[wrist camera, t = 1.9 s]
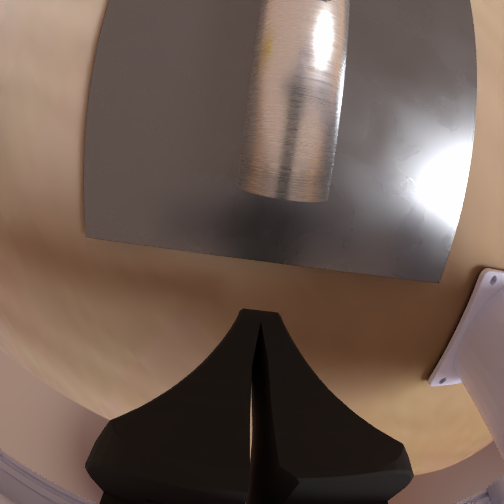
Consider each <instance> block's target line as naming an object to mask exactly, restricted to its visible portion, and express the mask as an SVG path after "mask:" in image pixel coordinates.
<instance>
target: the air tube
mask: <svg viewBox="0 0 504 504" xmlns="http://www.w3.org/2000/svg"><path fill="white" fill-rule="evenodd" d="M349 8H350V0H262V1H261V8H260V14H259V21H258V28H257V34H256V41H255V48H254V56H253V63H252V70H251V77H250V85H249V93H248V100H247V108H246V116H245V124H244V132H243V141H242V149H241V157H240V166H239V175H238V184H237V187H238V188H240V189H241V190H244V191H247V192H250V193H253V194H257V195H262V196H266V197H271V198H277V199H284V200H291V201H300V202H324V201H327V198H328V193H329V187H330V181H331V175H332V169H333V163H334V156H335V149H336V143H337V136H338V128H339V121H340V113H341V105H342V96H343V87H344V77H345V67H346V55H347V42H348V27H349Z"/></svg>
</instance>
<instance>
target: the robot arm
mask: <svg viewBox="0 0 504 504" xmlns="http://www.w3.org/2000/svg"><path fill="white" fill-rule="evenodd" d="M428 382H429V384H430V386H433V387H434V386H443V385H450V384H458V383H463V384H464V386H465V388H466V389H467V391H468V393H469V395H470V396H471V398H472V400H473V402H474V403H475V405H476V407H477V409H478V410H479V412H480V414H481V416H482V418H483V420H484V422H485V423H486V425H487V427H488V429H489V431H490V433H491V435H492V437H493V439H494V441H495V443H496V445H497V447H498V449H499V452H500V454H501V456H502V458H503V460H504V271H502V270H496V269H491V268H485V269H484V270H482V272H481V273H480V275H479V277H478V280H477V283H476V285H475V288H474V290H473V293H472V295H471V298H470V300H469V302H468V305H467V307H466V309H465V311H464V314H463V316H462V318H461V320H460V322H459V324H458V326H457V329H456V331H455V333H454V335H453V337H452V339H451V340H450V342H449V344H448V346H447V348H446V350H445V352H444V354H443V355H442V357H441V359H440V361H439V362H438V364H437V366H436V368H435V369H434V371H433V373H432V374H431V376H430V378H429V380H428ZM251 389H252V426H253V428H252V447H251V458H250V401H251ZM85 468H86V470H87V472H88V474H89V475H90V477H91V478H92V479H93V480H94V481H95V483H96V484H97V485H98V486H99V487H100V488H101V489H102V490H103V492H104V493H103V495H102V498H101V501H100V504H245V502H246V504H388V502H387V501H388V500H389V499H391V498H392V497H393V496H395V495H396V494H397V493H399V492H400V491H401V490H402V489H404V488H405V487H406V486H407V485H408V484H409V483H410V482H411V480H412V478H413V476H414V474H413V471H412V468H411V464H410V460H409V457H408V454H407V452H406V450H405V447H404V445H403V444H402V443H400V442H399V441H397V440H395V439H393V438H392V437H390V436H388V435H386V434H385V433H383V432H381V431H380V430H378V429H376V428H375V427H373V426H372V425H371V424H369V423H368V422H366V421H365V420H364V419H362V418H361V417H359V416H358V415H357V414H356V413H354V412H353V411H352V410H351V409H349V408H348V407H347V406H346V405H345V404H344V403H343V402H342V401H340V400H339V399H338V398H337V397H336V396H335V395H334V394H333V393H332V392H331V391H330V390H329V389H328V388H327V387H326V386H325V385H324V383H323V382H322V381H321V380H320V379H319V378H318V376H317V375H316V374H315V373H314V371H313V370H312V369H311V367H310V366H309V365H308V363H307V362H306V361H305V359H304V358H303V356H302V355H301V353H300V352H299V350H298V348H297V347H296V345H295V343H294V342H293V340H292V338H291V337H290V335H289V333H288V331H287V329H286V327H285V325H284V323H283V321H282V319H281V316H280V315H279V314H278V313H276V312H267V311H259V310H251V309H242V310H240V312H239V315H238V317H237V319H236V321H235V322H234V324H233V326H232V327H231V329H230V330H229V332H228V333H227V334H226V336H225V337H224V338H223V340H222V341H221V342H220V344H219V345H218V346H217V347H216V348H215V349H214V351H213V352H212V353H211V354H210V355H209V356H208V357H207V358H206V359H205V360H204V361H203V362H202V363H201V364H200V365H199V366H198V367H197V368H196V369H195V370H194V371H193V372H191V373H190V374H189V375H188V376H187V377H185V378H184V379H183V380H182V381H180V382H179V383H178V384H176V385H175V386H174V387H172V388H171V389H169V390H168V391H166V392H165V393H163V394H161V395H160V396H158V397H157V398H155V399H153V400H152V401H150V402H148V403H147V404H145V405H143V406H141V407H139V408H137V409H135V410H133V411H130V412H128V413H126V414H124V415H122V416H119V417H117V418H115V419H112V420H110V421H109V422H108V424H107V425H106V427H105V428H104V429H103V431H102V433H101V434H100V436H99V437H98V438H97V440H96V442H95V444H94V446H93V448H92V450H91V452H90V455H89V457H88V459H87V461H86V464H85ZM0 504H97V503H95V502H92V501H89V500H88V499H85V498H83V497H81V496H79V495H77V494H75V493H72V492H70V491H68V490H66V489H64V488H62V487H60V486H59V485H57V484H55V483H53V482H51V481H49V480H48V479H46V478H44V477H42V476H41V475H39V474H37V473H35V472H34V471H32V470H31V469H29V468H27V467H26V466H24V465H23V464H21V463H20V462H18V461H16V460H15V459H14V458H12V457H11V456H9V455H8V454H7V453H5V452H4V451H2V450H1V449H0ZM454 504H504V475H502V476H501V477H500V478H498V479H497V480H496V481H494V482H493V483H491V484H490V485H489V486H488V487H487V488H486V489H484V490H482V491H480V492H478V493H476V494H474V495H472V496H470V497H468V498H466V499H463V500H461V501H459V502H456V503H454Z"/></svg>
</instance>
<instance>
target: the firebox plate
mask: <svg viewBox="0 0 504 504" xmlns="http://www.w3.org/2000/svg"><path fill="white" fill-rule="evenodd" d="M261 1H262V0H109V3H108V6H107V10H106V13H105V17H104V21H103V25H102V29H101V33H100V37H99V41H98V46H97V51H96V56H95V61H94V66H93V72H92V78H91V85H90V92H89V100H88V109H87V119H86V131H85V148H84V213H85V230H86V237H89V238H96V239H103V240H110V241H117V242H124V243H131V244H138V245H145V246H153V247H160V248H167V249H175V250H182V251H189V252H197V253H204V254H212V255H219V256H226V257H234V258H242V259H249V260H257V261H264V262H272V263H280V264H288V265H295V266H303V267H311V268H319V269H327V270H335V271H343V272H351V273H359V274H367V275H375V276H384V277H392V278H400V279H409V280H417V281H425V282H434V283H439V282H440V279H441V276H442V273H443V270H444V268H445V265H446V262H447V259H448V255H449V252H450V249H451V246H452V242H453V239H454V235H455V232H456V228H457V225H458V221H459V217H460V213H461V208H462V204H463V200H464V195H465V190H466V185H467V180H468V174H469V168H470V162H471V155H472V148H473V139H474V130H475V118H476V99H477V62H476V44H475V33H474V24H473V16H472V10H471V4H470V0H350V8H349V27H348V42H347V55H346V67H345V77H344V87H343V96H342V105H341V113H340V121H339V128H338V136H337V143H336V149H335V156H334V163H333V169H332V175H331V181H330V187H329V193H328V198H327V201H324V202H300V201H291V200H284V199H277V198H271V197H266V196H262V195H257V194H253V193H250V192H247V191H244V190H241V189H240V188H238V187H237V184H238V175H239V166H240V157H241V149H242V141H243V132H244V124H245V116H246V108H247V100H248V93H249V85H250V77H251V70H252V63H253V56H254V48H255V41H256V34H257V28H258V21H259V14H260V8H261Z"/></svg>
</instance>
